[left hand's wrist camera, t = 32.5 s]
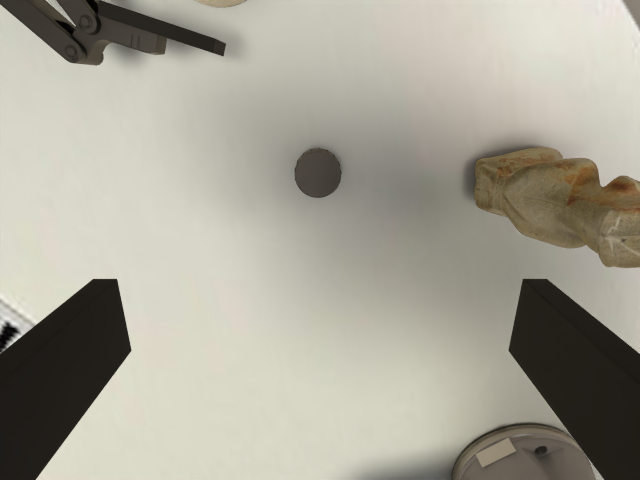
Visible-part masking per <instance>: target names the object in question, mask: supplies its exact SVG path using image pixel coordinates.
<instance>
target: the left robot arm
mask: <svg viewBox="0 0 640 480" xmlns="http://www.w3.org/2000/svg"><path fill="white" fill-rule="evenodd" d="M130 352H131V346H130V341H129V336H128V331H127V326H126V321H125V316H124V311H123V306H122V301H121V296H120V291H119V286H118V281H117V279H93V280H92V281H90V282H89V283H88V284H87V285H85V286H84V287H83V288H82V289H80V290H79V291H78V292H77V293H75V294H74V295H73V296H72V297H70V298H69V299H68V300H67V301H65V302H64V303H63V304H62V305H60V306H59V307H58V308H57V309H56V310H54V311H53V312H52V313H51V314H49V315H48V316H47V317H46V318H44V319H43V320H42V321H41V322H39V323H38V324H37V325H36V326H34V327H33V328H32V329H31V330H29V331H28V332H27V333H26V334H24V335H23V336H22V337H21V338H19V339H18V340H17V341H16V342H15V343H13V344H12V345H11V346H10V347H8V348H7V349H6V350H5V351H3V352H2V353H1V354H0V480H36V478H37V477H38V476H39V474H40V473H41V472H42V470H43V469H44V468H45V466H46V465H47V464H48V462H49V461H50V460H51V458H52V457H53V456H54V454H55V453H56V452H57V450H58V449H59V447H60V446H61V445H62V443H63V442H64V441H65V439H66V438H67V437H68V435H69V434H70V433H71V431H72V430H73V429H74V427H75V426H76V425H77V423H78V422H79V421H80V419H81V418H82V416H83V415H84V414H85V412H86V411H87V410H88V408H89V407H90V406H91V404H92V403H93V402H94V400H95V399H96V398H97V396H98V395H99V394H100V392H101V391H102V390H103V388H104V387H105V385H106V384H107V383H108V381H109V380H110V379H111V377H112V376H113V375H114V373H115V372H116V371H117V369H118V368H119V367H120V365H121V364H122V363H123V361H124V360H125V359H126V357H127V356H128V355H129V353H130ZM509 352H510V353H511V355H512V356H513V357H514V359H515V360H516V361H517V363H518V364H519V365H520V367H521V368H522V369H523V371H524V372H525V373H526V375H527V376H528V377H529V379H530V380H531V381H532V383H533V384H534V385H535V387H536V388H537V390H538V391H539V392H540V394H541V395H542V396H543V398H544V399H545V400H546V402H547V403H548V404H549V406H550V407H551V408H552V410H553V411H554V412H555V414H556V415H557V416H558V418H559V419H560V421H561V422H562V423H563V425H564V426H565V427H566V429H567V430H568V431H569V433H570V434H571V435H572V437H573V438H574V439H575V441H576V442H577V443H578V445H579V446H580V447H581V449H582V450H583V452H584V453H585V454H586V456H587V457H588V458H589V460H590V461H591V462H592V464H593V465H594V466H595V468H596V469H597V470H598V472H599V473H600V474H601V476H602V477H603V478H604V480H640V354H639V353H638V352H637V351H635V350H634V349H633V348H632V347H630V346H629V345H628V344H627V343H625V342H624V341H623V340H622V339H621V338H619V337H618V336H617V335H616V334H614V333H613V332H612V331H611V330H609V329H608V328H607V327H606V326H604V325H603V324H602V323H601V322H599V321H598V320H597V319H596V318H594V317H593V316H592V315H591V314H589V313H588V312H587V311H586V310H584V309H583V308H582V307H581V306H580V305H578V304H577V303H576V302H575V301H573V300H572V299H571V298H570V297H568V296H567V295H566V294H565V293H563V292H562V291H561V290H560V289H558V288H557V287H556V286H555V285H553V284H552V283H551V282H550V281H548V280H547V279H523V281H522V286H521V291H520V296H519V301H518V306H517V311H516V316H515V321H514V326H513V331H512V336H511V341H510V346H509ZM575 441H574V440H573V439H572V438H571V437H570V436H568V435H567V434H565V433H564V432H562V431H560V430H557V429H554V428H551V427H547V426H542V425H517V426H511V427H507V428H503V429H500V430H497V431H494V432H492V433H490V434H487V435H485V436H484V437H482V438H480V439H479V440H477V441H476V442H474V443H473V444H472V445H470V446H469V447H468V448H467V449H466V450H465V451H464V452H463V453H462V455H461V456H460V457H459V459H458V460H457V462H456V464H455V467H454V469H453V473H452V480H596V479H595V476H594V473H593V470H592V467H591V464H590V462H589V460H588V459H587V457H586V456H585V454H584V453H583V452H582V450H581V449H580V447H579V446H578V445H577V443H576V442H575Z"/></svg>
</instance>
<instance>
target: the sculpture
mask: <svg viewBox="0 0 640 480" xmlns="http://www.w3.org/2000/svg"><path fill="white" fill-rule="evenodd" d="M475 176H476V184H475V187H474V199H475V200H476V205H477V206H478V207H479V208H481V209H483V210H486V211H489V212H491V213H495V214H499V215H502V216H507V217H508V218H509V219H510V220H511V222H512V223H513V224H514V226H515V227H516V228H517V229H518V230H519V231H520V232H521V233H522V234H523V235H525V236H528V237H531V238H534V239H537V240H540V241H543V242H546V243H549V244H553V245H556V246H560V247H564V248H578V247H582V246H584V245H587V246H588V247H589V248H591V249H592V250H593V251H595V252H596V253H598V254H599V257H600V259H601V261H602V263H603V264H604V265H605V266H606V267H620V268H635V267H640V182H639V181H637V180H634V179H632V178H630V177H628V176H619V177H617V178H615V179H614V180H613V181H611V182H610V183H609V184H608V185H607V186H605V187H602V186H601V185H600V181H599V174H598V169H597V166H596V164H595V163H594V162H593V161H591V160H590V159H586V158H574V159H563V157H562V155H561V153H560V152H558V151H557V150H555V149H553V148H547V147H536V148H528V149H523V150H519V151H515V152H511V153H508V154H504V155H500V156H495V157H490V158H482V159H479V160H477V161H476V164H475Z"/></svg>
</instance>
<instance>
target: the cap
mask: <svg viewBox="0 0 640 480" xmlns="http://www.w3.org/2000/svg"><path fill="white" fill-rule="evenodd" d="M339 166H340V165H339V162H338V161H337V159H336V158H335V156H334V155H333V154H331V153H330V152H328V150H327V151H326V150H323V149H320V148H319V149H312V150H311V149H310V150H309V151H307V152H306V153H303V155H302V156H301V157H300V159H299V160H298V161H297V166H296V168H295V180H296V183H297V185H298V187H299V188H300V190H301V191H302V192H303V193H305V194H306V195H308V196H311V197H315V198H320V197H325V196H328V195H330V194H331V193H332V192H334V191H335V189H336V188H337V187H338V185H339V183H340V179H341V170H340V167H339Z"/></svg>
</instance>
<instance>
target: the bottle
mask: <svg viewBox="0 0 640 480" xmlns="http://www.w3.org/2000/svg"><path fill="white" fill-rule="evenodd" d="M195 1H198V2H200V3H202V4H205V5H208V6H213V7H229V6H234V5H237V4H240V3H242V2H244V1H246V0H195Z"/></svg>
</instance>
